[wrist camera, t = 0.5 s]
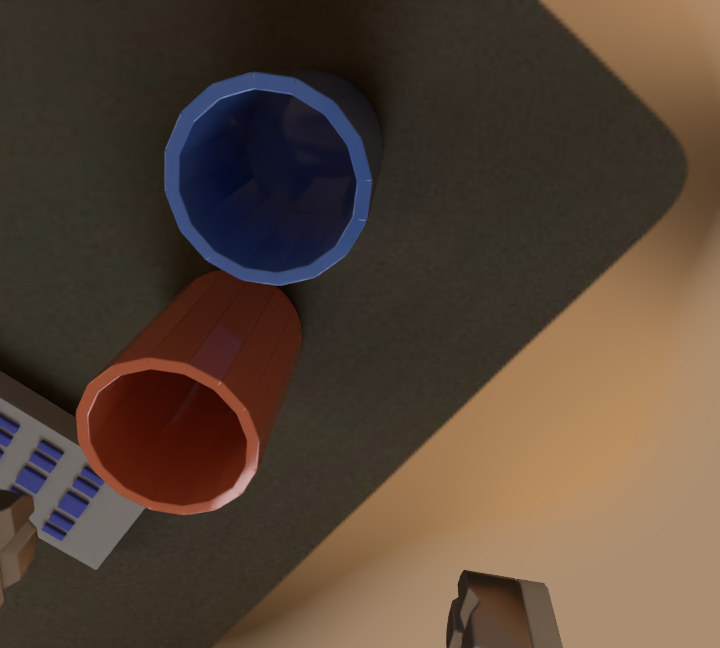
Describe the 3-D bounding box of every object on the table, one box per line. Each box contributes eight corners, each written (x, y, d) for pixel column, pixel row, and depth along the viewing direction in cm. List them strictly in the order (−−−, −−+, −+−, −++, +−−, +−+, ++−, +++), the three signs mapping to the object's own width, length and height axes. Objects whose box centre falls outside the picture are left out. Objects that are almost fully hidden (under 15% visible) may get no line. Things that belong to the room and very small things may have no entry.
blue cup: (244, 59, 26) (163, 58, 18) (393, 80, 26) (385, 90, 17) (237, 206, 29) (163, 269, 20) (372, 227, 29) (356, 298, 20)
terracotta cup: (172, 259, 30) (70, 344, 21) (308, 280, 30) (264, 375, 21) (172, 378, 33) (81, 499, 24) (296, 398, 33) (253, 526, 24)
